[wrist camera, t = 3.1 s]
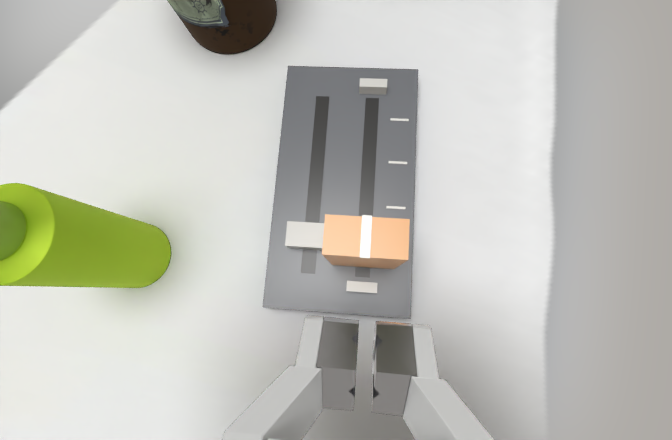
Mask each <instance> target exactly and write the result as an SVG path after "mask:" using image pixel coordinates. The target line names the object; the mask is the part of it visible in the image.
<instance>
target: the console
mask: <svg viewBox="0 0 672 440" xmlns="http://www.w3.org/2000/svg"><path fill="white" fill-rule="evenodd" d="M417 92H418V69H382V68H345V67H309V66H288V72H287V81H286V91H285V100H284V110H283V119H282V129H281V138H280V147H279V157H278V166H277V176H276V185H275V195H274V204H273V214H272V223H271V232H270V242H269V251H268V261H267V270H266V280H265V289H264V299H263V307H264V308H277V309H290V310H303V311H316V312H329V313H342V314H355V315H368V316H382V317H395V318H408V319H410V317H411V285H412V253H413V221H414V189H415V156H416V124H417ZM325 214H330V215H347V216H362V215H371V216H372V217H382V218H400V219H410V226H409V257H408V261H406V262H404V263H403V264H401V265H400V266H398V267H397V268H395V269H383V268H368V267H353V266H338V265H332V264H331V263H330V262H329V261H328V260H327V259H326V258H325V257H324V256H323V255H322V247H323V234H324V221H325Z"/></svg>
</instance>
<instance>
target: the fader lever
mask: <svg viewBox="0 0 672 440" xmlns="http://www.w3.org/2000/svg"><path fill="white" fill-rule="evenodd" d="M409 226H410V219H400V218H382V217H372V216H371V215H362V216H347V215H330V214H325V221H324V234H323V247H322V255H323V256H324V257H325V258H326V259H327V260H328V261H329V262H330V263H331V264H332V265H338V266H353V267H368V268H383V269H395V268H397V267H398V266H400V265H401V264H403V263H404V262H406V261H408V257H409Z"/></svg>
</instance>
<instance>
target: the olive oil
mask: <svg viewBox="0 0 672 440" xmlns="http://www.w3.org/2000/svg"><path fill="white" fill-rule="evenodd" d="M167 1H168V2H169V4H170V5H171V6H172V8H173V9H174V11H175V12H176V13H177V15H178V16H179V18H180V19H181V20H182V22H183V23H184V25H185V26H186V28H187V29H188V30H189V32H190V33H191V35H192V36H193V37H194V39H195V40H196V41H197V42H198V43H199V44H200V45H202V46H203V47H205V48H206V49H208V50H211V51H213V52H217V53H223V54H232V53H238V52H242V51H245V50H248V49H250V48H252V47H254V46H255V45H257V44H258V43H260V42H261V41H262V40H263V39H264V38H265V37H266V36H267V35H268V33H269V32H270V30H271V29H272V27H273V25H274V22H275V18H276V1H275V0H167Z"/></svg>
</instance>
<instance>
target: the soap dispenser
mask: <svg viewBox="0 0 672 440" xmlns="http://www.w3.org/2000/svg"><path fill="white" fill-rule="evenodd" d="M170 257H171V247H170V243H169V240H168V238H167V237H166V235H165V234H164V233H163V232H162V231H161V230H160V229H159V228H157V227H155V226H153V225H150V224H147V223H144V222H141V221H138V220H135V219H131V218H128V217H125V216H122V215H119V214H116V213H113V212H110V211H107V210H104V209H100V208H97V207H94V206H91V205H88V204H85V203H82V202H79V201H76V200H73V199H69V198H66V197H63V196H60V195H57V194H54V193H51V192H48V191H45V190H42V189H38V188H35V187H32V186H29V185H25V184H20V183H10V184H4V185H0V286H55V287H114V288H141V287H145V286H148V285H150V284H152V283H154V282H155V281H157V280H158V279H159V278H160V277H161V276H162V275H163V274H164V272H165V271H166V269H167V267H168V265H169V262H170Z"/></svg>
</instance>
